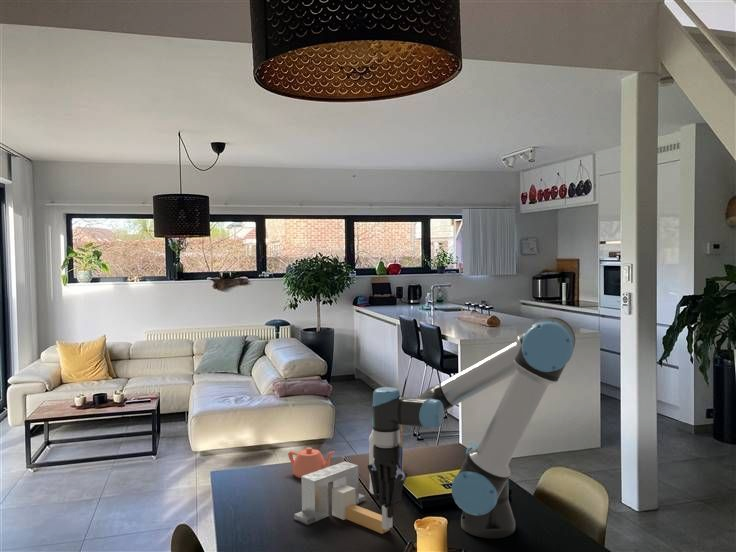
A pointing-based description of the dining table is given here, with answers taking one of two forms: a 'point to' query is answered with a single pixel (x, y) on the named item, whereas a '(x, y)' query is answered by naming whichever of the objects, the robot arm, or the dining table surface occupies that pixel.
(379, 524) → the mallet
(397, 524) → the dining table surface
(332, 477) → the white arch block
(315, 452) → the teapot
